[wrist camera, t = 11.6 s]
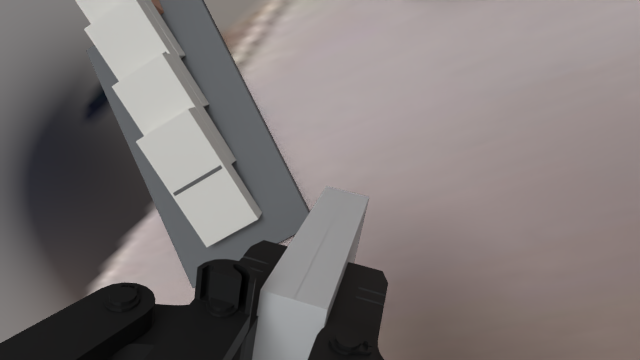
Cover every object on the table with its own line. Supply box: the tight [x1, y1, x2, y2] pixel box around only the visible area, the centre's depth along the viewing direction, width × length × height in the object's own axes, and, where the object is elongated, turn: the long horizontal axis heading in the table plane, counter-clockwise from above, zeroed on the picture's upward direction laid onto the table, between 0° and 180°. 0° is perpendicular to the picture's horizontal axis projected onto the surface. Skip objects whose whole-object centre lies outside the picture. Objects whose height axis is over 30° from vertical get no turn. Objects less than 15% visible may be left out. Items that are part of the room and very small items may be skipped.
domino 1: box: [75, 0, 186, 58], centre depth 40 cm, size 2×5×10 cm
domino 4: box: [136, 107, 262, 247], centre depth 37 cm, size 2×5×10 cm
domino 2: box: [84, 0, 209, 107], centre depth 39 cm, size 2×5×10 cm
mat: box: [86, 0, 310, 288], centre depth 41 cm, size 24×12×1 cm, turn 28°
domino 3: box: [112, 53, 236, 164], centre depth 38 cm, size 2×5×10 cm
